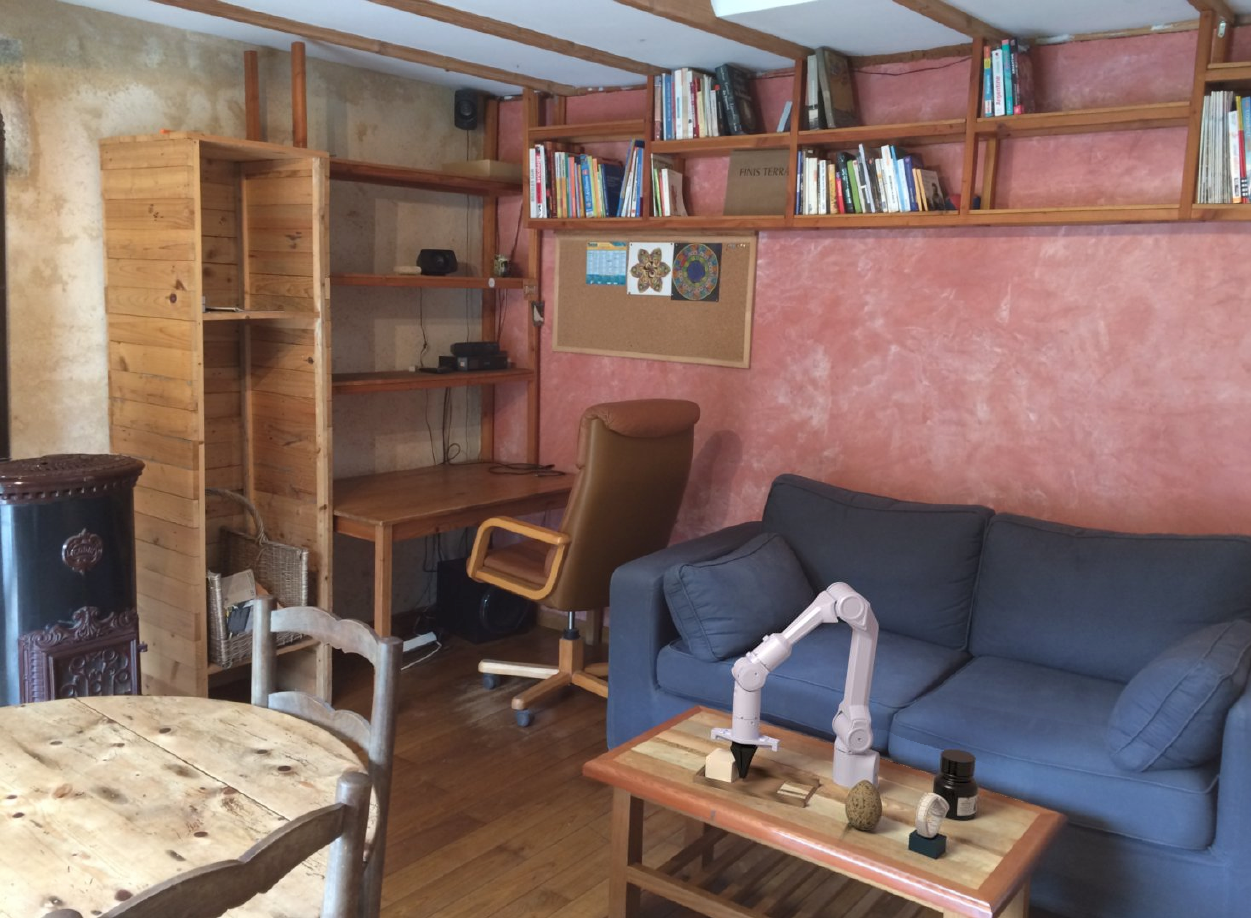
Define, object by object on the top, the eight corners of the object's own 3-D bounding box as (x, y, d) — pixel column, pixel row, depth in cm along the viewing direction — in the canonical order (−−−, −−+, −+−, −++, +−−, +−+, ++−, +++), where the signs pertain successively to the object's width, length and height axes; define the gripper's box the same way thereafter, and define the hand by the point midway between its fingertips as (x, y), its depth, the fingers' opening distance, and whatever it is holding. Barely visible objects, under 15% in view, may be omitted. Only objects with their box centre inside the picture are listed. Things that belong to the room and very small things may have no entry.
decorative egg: (888, 829, 217) (891, 781, 216) (866, 840, 212) (869, 791, 211) (858, 816, 222) (861, 769, 221) (836, 826, 217) (839, 778, 216)
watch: (950, 848, 210) (954, 793, 209) (931, 862, 204) (935, 806, 203) (922, 838, 214) (926, 784, 212) (903, 852, 208) (907, 796, 206)
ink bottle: (969, 826, 220) (974, 768, 218) (925, 814, 224) (929, 758, 223) (981, 808, 228) (986, 753, 227) (938, 797, 233) (943, 743, 231)
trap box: (818, 792, 233) (819, 778, 233) (803, 814, 222) (803, 800, 222) (712, 769, 243) (712, 756, 242) (692, 789, 232) (692, 776, 232)
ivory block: (742, 773, 237) (743, 753, 237) (730, 783, 232) (731, 763, 232) (716, 767, 240) (717, 747, 240) (705, 776, 235) (706, 756, 235)
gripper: (785, 714, 232) (781, 776, 234) (719, 702, 238) (716, 762, 240) (775, 725, 226) (772, 788, 228) (708, 713, 232) (706, 774, 233)
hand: (743, 776), depth 233 cm, fingers closed
